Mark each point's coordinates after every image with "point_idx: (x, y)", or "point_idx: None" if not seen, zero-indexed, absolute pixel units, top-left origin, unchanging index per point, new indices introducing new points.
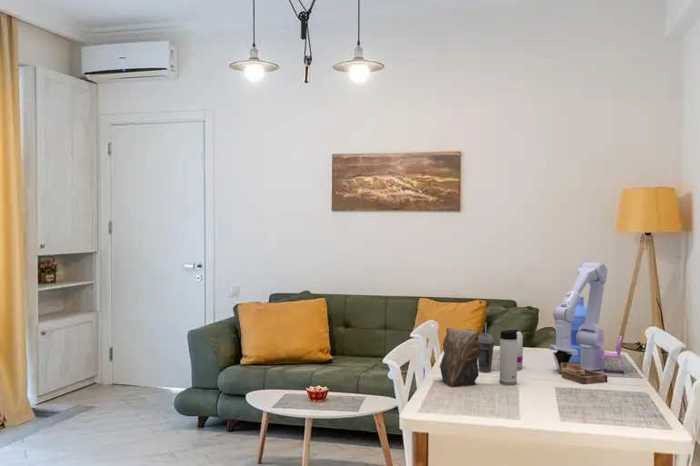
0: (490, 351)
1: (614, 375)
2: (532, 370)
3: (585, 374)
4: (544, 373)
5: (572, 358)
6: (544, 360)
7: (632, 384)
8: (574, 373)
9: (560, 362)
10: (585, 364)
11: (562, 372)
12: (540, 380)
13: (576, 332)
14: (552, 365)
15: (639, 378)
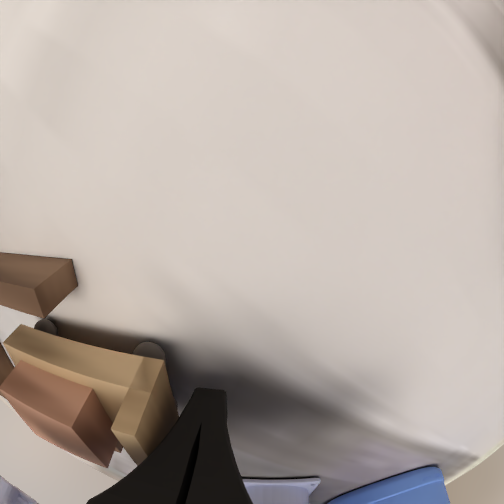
0: None
1: (127, 467)
2: (461, 231)
3: None
4: (301, 241)
5: (381, 495)
6: (480, 424)
7: None
8: (14, 333)
9: (181, 452)
10: (255, 501)
11: (32, 282)
12: (60, 9)
13: None
14: (426, 428)
15: (86, 463)
